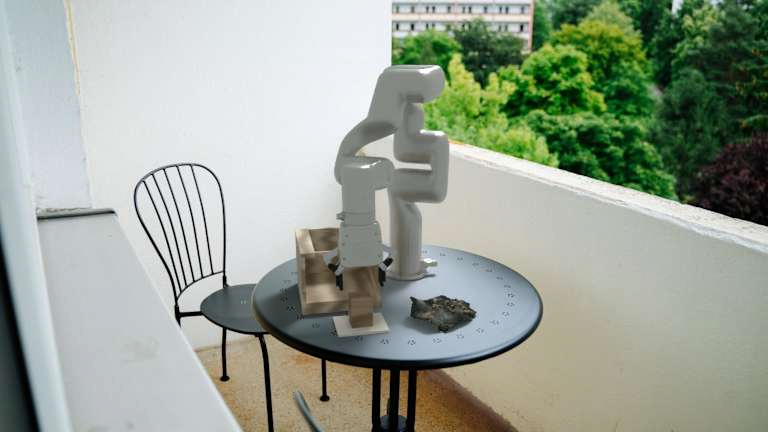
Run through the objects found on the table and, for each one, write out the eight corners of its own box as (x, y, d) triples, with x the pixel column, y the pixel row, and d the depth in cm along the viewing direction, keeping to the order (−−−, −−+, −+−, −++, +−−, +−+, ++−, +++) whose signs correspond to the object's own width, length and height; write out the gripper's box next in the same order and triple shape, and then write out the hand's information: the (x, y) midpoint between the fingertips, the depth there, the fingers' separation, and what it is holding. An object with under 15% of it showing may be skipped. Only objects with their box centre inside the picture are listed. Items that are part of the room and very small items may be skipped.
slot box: (366, 277, 169) (365, 224, 165) (381, 307, 148) (381, 248, 144) (297, 283, 165) (295, 229, 161) (303, 314, 145) (300, 253, 140)
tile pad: (380, 314, 145) (380, 312, 144) (389, 332, 135) (389, 329, 135) (332, 318, 142) (332, 316, 142) (338, 337, 133) (338, 334, 133)
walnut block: (372, 326, 137) (372, 298, 135) (352, 328, 136) (351, 300, 134) (368, 317, 141) (368, 290, 140) (348, 319, 140) (348, 292, 139)
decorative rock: (431, 283, 155) (485, 289, 148) (432, 305, 156) (485, 312, 149) (398, 303, 139) (456, 311, 131) (399, 327, 140) (456, 337, 132)
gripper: (322, 224, 127) (326, 296, 132) (399, 219, 130) (400, 289, 135) (319, 215, 134) (322, 283, 139) (392, 210, 137) (393, 277, 142)
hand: (361, 286), depth 137 cm, fingers open, 9 cm apart
